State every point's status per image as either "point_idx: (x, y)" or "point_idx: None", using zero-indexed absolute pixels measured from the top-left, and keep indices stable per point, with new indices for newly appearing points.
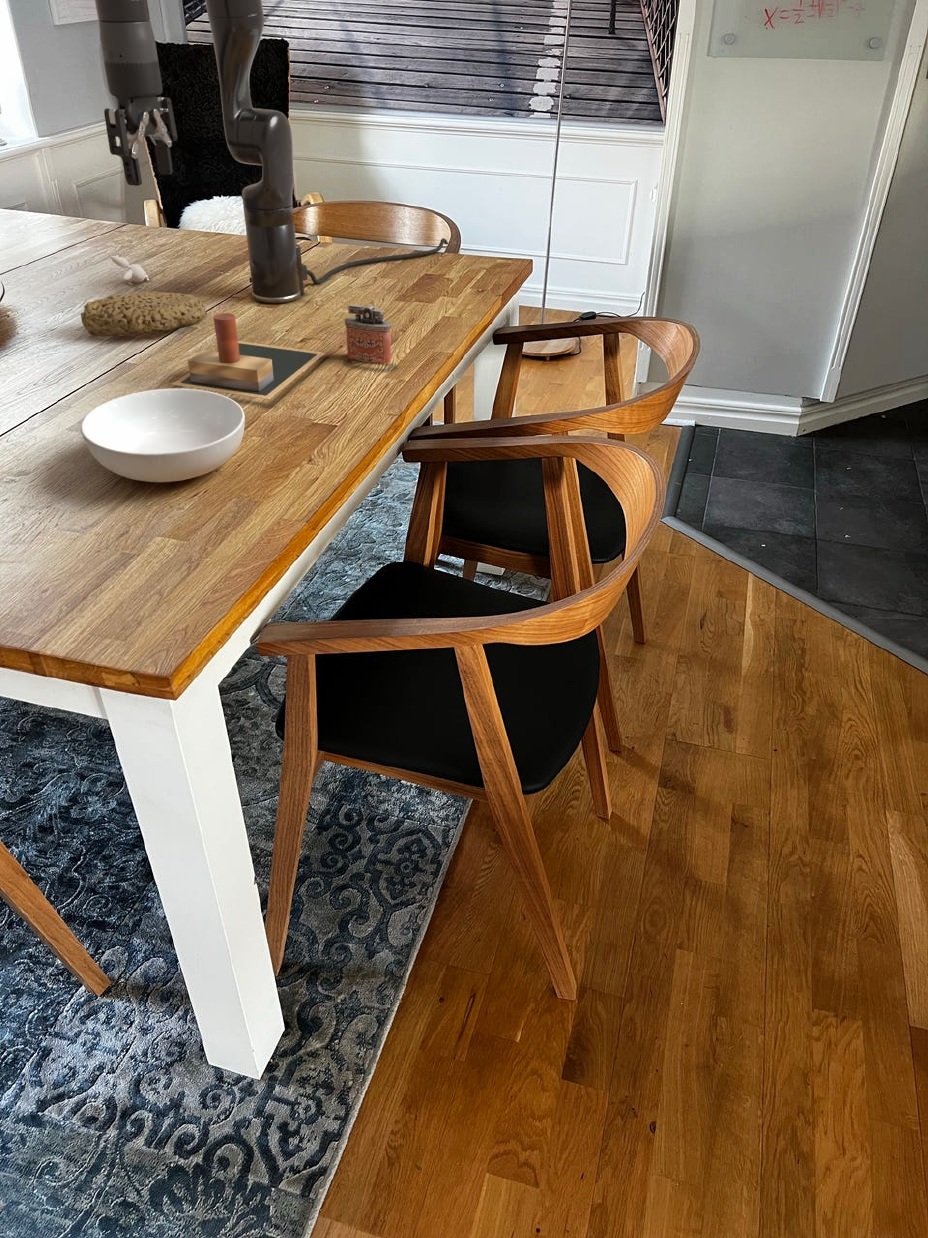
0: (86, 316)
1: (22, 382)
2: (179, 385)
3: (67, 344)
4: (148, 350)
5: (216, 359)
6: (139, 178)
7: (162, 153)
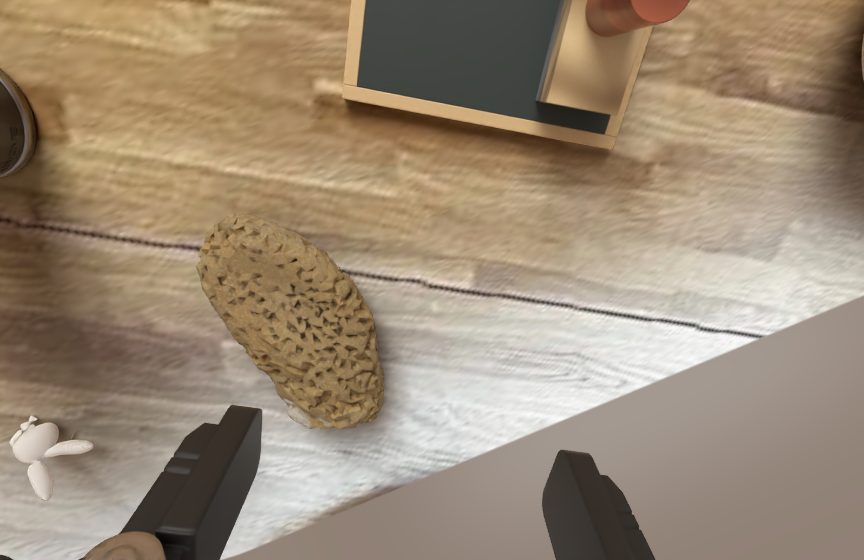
0: (378, 408)
1: (576, 399)
2: (618, 130)
3: (405, 407)
4: (404, 272)
5: (610, 45)
6: (594, 472)
7: (214, 532)
